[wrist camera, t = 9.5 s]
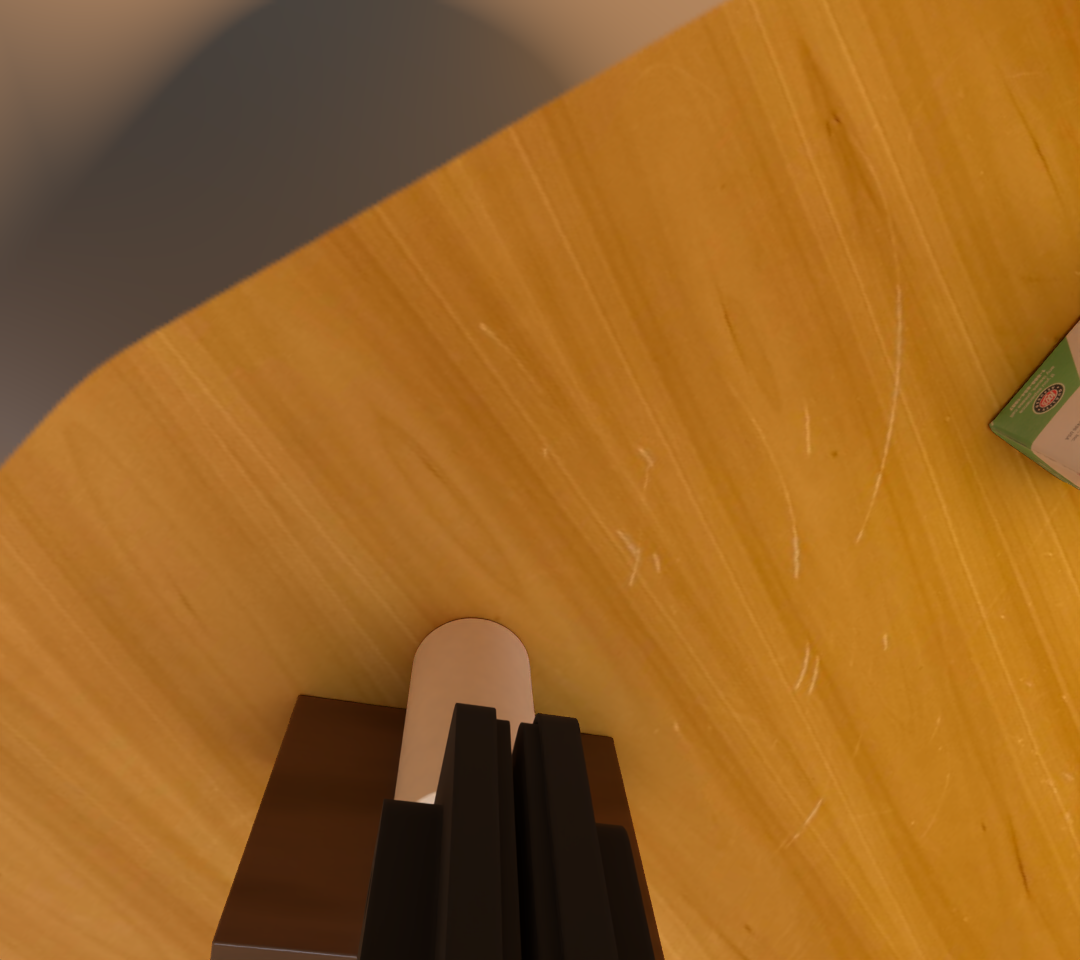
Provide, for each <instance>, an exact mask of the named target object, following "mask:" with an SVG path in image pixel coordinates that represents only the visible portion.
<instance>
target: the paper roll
mask: <svg viewBox="0 0 1080 960" xmlns="http://www.w3.org/2000/svg"><path fill="white" fill-rule="evenodd" d="M456 703H463V704H471V705H479V706H486V707H494V708H495V709H496V715H497V719H501V720H508V721H509V722H510V730H511V750H512V751H513V747H514V743H515V739H516V735H517V731H518V727H519V725H520V723H521V722H524V723H531V724H533V721H534V718H535V715H534V705H533V695H532V685H531V675H530V665H529V658H528V655H527V652H526V649H525V647H524V645H523V644H522V642H521V641H520V640H519V639H518V637H517V636H516V635H515V634H513V633H512V632H511V631H510V630H508V629H507V628H505V627H504V626H502V625H500V624H498V623H495V622H492V621H489V620H484V619H476V618H467V619H459V620H455V621H451V622H449V623H446V624H444V625H442V626H440V627H438V628H437V629H435V630H434V631H432V632H431V633H430V634H429V635H428V636H427V637H426V638H425V639H424V640H423V641H422V643H421V644H420V646H419V647H418V649H417V651H416V654H415V657H414V660H413V667H412V674H411V682H410V689H409V696H408V703H407V711H406V718H405V725H404V732H403V740H402V747H401V754H400V761H399V769H398V776H397V783H396V790H395V797H394V800H402V801H410V802H419V803H428V804H434V801H435V796H436V791H437V786H438V782H439V777H440V772H441V767H442V763H443V758H444V753H445V748H446V743H447V739H448V734H449V729H450V724H451V720H452V715H453V710H454V707H455V704H456Z"/></svg>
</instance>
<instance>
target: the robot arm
mask: <svg viewBox="0 0 1080 960" xmlns="http://www.w3.org/2000/svg"><path fill="white" fill-rule="evenodd" d="M357 960H655V956H654V952H653V947H652V942H651V938H650V933H649V928H648V924H647V919H646V914H645V910H644V905H643V900H642V896H641V891H640V886H639V882H638V877H637V872H636V868H635V863H634V858H633V854H632V849H631V844H630V840H629V837H628V834H627V831H626V829H625V828H624V827H623V826H621V825H612V824H604V823H595V817H594V811H593V805H592V799H591V793H590V787H589V781H588V776H587V770H586V764H585V758H584V752H583V746H582V740H581V734H580V728H579V723H578V720H577V719H576V718H570V717H562V716H554V715H547V714H539V713H538V714H536V716H535V718H534V721H533V724H531V723H524V722H521V723H520V725H519V727H518V731H517V735H516V739H515V743H514V747H513V751H512V750H511V730H510V722H509V721H508V720H501V719H497V715H496V709H495V708H494V707H486V706H479V705H471V704H463V703H456V704H455V707H454V710H453V715H452V720H451V724H450V729H449V734H448V739H447V743H446V748H445V753H444V758H443V763H442V767H441V772H440V777H439V782H438V786H437V791H436V796H435V801H434V804H428V803H419V802H410V801H402V800H393V799H384V801H383V806H382V811H381V817H380V822H379V828H378V833H377V839H376V844H375V850H374V856H373V862H372V868H371V874H370V880H369V886H368V892H367V898H366V904H365V911H364V917H363V923H362V930H361V936H360V943H359V949H358V956H357Z"/></svg>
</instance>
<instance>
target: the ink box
mask: <svg viewBox="0 0 1080 960" xmlns="http://www.w3.org/2000/svg"><path fill="white" fill-rule="evenodd" d="M989 426H990V428H991V430H992V431H993V432H994V433H995V434H996V435H998V436H999V437H1000V438H1002V439H1003V440H1005V441H1006V442H1007V443H1009V444H1010V445H1011V446H1013V447H1014V448H1016V449H1017V450H1019V451H1020V452H1022V453H1023V454H1024V455H1026V456H1027V457H1029V458H1030V459H1032V460H1033V461H1034V462H1036V463H1037V464H1038V465H1040V466H1041V467H1043V468H1044V469H1046V470H1047V471H1049V472H1050V473H1051V474H1053V475H1054V476H1056V477H1057V478H1059V479H1060V480H1062V481H1064V482H1066V483H1068V484H1070V485H1072V486H1074V487H1075V488H1077V489H1079V490H1080V320H1079V321H1078V323H1077V324H1076V325H1075V326H1074V327H1073V329H1072V330H1071V331H1070V332H1069V333H1068V334H1067V335H1066V336H1065V338H1064V339H1063V340H1062V341H1061V342H1060V344H1059V345H1058V346H1057V347H1056V348H1055V349H1054V351H1053V352H1052V353H1051V354H1050V355H1049V357H1048V358H1047V359H1046V360H1045V361H1044V362H1043V364H1042V365H1041V366H1040V367H1039V368H1038V369H1037V371H1036V372H1035V373H1034V374H1033V375H1032V376H1031V377H1030V379H1029V380H1028V381H1027V382H1026V383H1025V384H1024V386H1023V387H1022V388H1021V389H1020V390H1019V391H1018V393H1017V394H1016V395H1015V396H1014V397H1013V398H1012V400H1011V401H1010V402H1009V403H1008V404H1007V405H1006V407H1005V408H1004V409H1003V410H1002V411H1001V412H1000V413H999V415H998V416H997V417H996V418H995V419H994V420H993V421H992V422H991V423H990V424H989Z"/></svg>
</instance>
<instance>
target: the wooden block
mask: <svg viewBox="0 0 1080 960" xmlns="http://www.w3.org/2000/svg"><path fill="white" fill-rule="evenodd" d="M406 711H407V710H405V709H397V708H390V707H383V706H375V705H368V704H361V703H353V702H346V701H339V700H331V699H324V698H317V697H309V696H302V695H299V696H298V698H297V701H296V704H295V707H294V710H293V712H292V715H291V718H290V721H289V724H288V727H287V730H286V732H285V735H284V738H283V741H282V744H281V747H280V750H279V752H278V755H277V758H276V761H275V764H274V767H273V770H272V773H271V775H270V778H269V781H268V784H267V787H266V790H265V793H264V795H263V798H262V801H261V804H260V807H259V810H258V813H257V815H256V818H255V821H254V824H253V827H252V830H251V833H250V836H249V838H248V841H247V844H246V847H245V850H244V853H243V856H242V858H241V861H240V864H239V867H238V870H237V873H236V876H235V878H234V881H233V884H232V887H231V890H230V893H229V896H228V899H227V901H226V904H225V907H224V910H223V913H222V916H221V919H220V921H219V924H218V927H217V930H216V933H215V936H214V939H213V941H212V949H211V958H210V960H357V956H358V949H359V943H360V936H361V930H362V923H363V917H364V911H365V904H366V898H367V892H368V886H369V880H370V874H371V868H372V862H373V856H374V850H375V844H376V839H377V833H378V828H379V822H380V817H381V811H382V806H383V801H384V799H393V800H394V797H395V790H396V783H397V776H398V769H399V761H400V754H401V747H402V740H403V732H404V725H405V718H406ZM581 740H582V746H583V752H584V758H585V764H586V770H587V776H588V781H589V787H590V793H591V799H592V805H593V811H594V817H595V823H604V824H612V825H621V826H623V827H624V828H625V829H626V831H627V834H628V837H629V840H630V844H631V849H632V854H633V858H634V863H635V868H636V872H637V877H638V882H639V886H640V891H641V896H642V900H643V905H644V910H645V914H646V919H647V924H648V928H649V933H650V938H651V942H652V947H653V952H654V956H655V960H665V959H664V955H663V951H662V947H661V942H660V938H659V934H658V929H657V925H656V921H655V917H654V912H653V908H652V904H651V900H650V895H649V891H648V887H647V882H646V878H645V874H644V870H643V865H642V861H641V857H640V853H639V848H638V844H637V840H636V835H635V831H634V827H633V823H632V818H631V814H630V810H629V806H628V801H627V797H626V793H625V788H624V784H623V780H622V776H621V771H620V767H619V763H618V759H617V754H616V750H615V746H614V741H613V738H610V737H602V736H595V735H588V734H581Z"/></svg>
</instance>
